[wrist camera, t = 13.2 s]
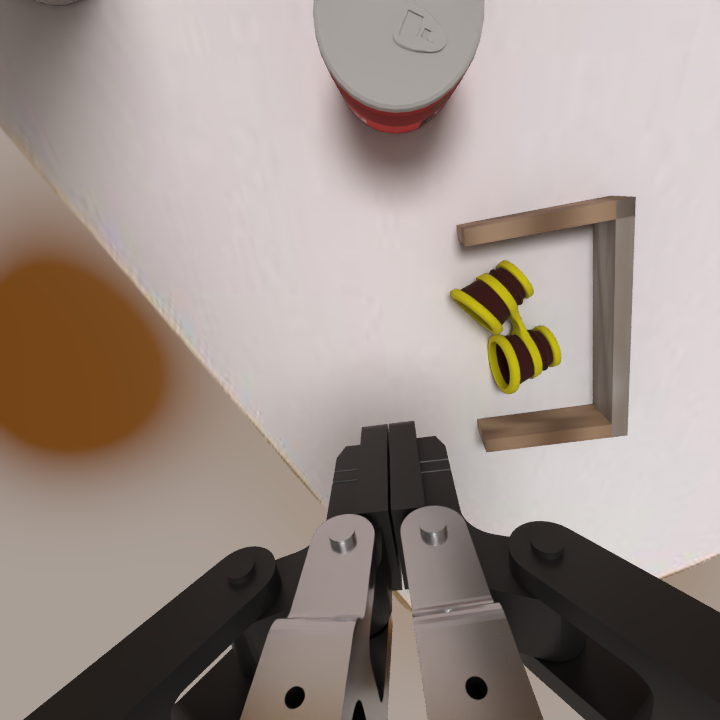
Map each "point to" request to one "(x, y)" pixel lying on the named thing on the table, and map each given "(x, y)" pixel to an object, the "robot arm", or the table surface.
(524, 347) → the opera glasses
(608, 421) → the walnut bay
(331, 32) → the canned food
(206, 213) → the table surface
